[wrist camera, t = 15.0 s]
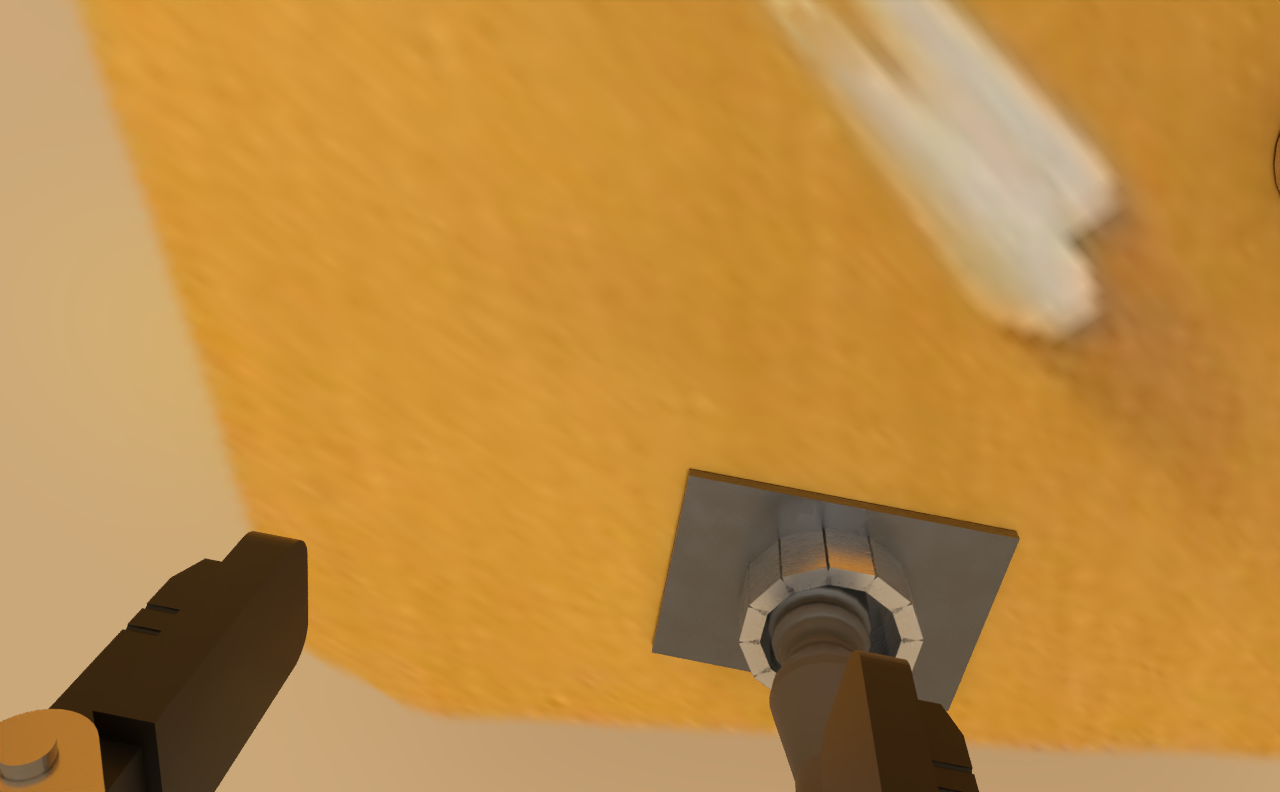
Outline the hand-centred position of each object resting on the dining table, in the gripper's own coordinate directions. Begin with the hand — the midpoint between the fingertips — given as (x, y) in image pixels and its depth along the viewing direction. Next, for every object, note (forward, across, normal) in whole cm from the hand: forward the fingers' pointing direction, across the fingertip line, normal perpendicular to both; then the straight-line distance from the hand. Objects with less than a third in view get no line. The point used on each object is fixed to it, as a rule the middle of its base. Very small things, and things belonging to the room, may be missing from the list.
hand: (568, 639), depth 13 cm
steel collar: (+38, -13, +26) cm, 48 cm away
